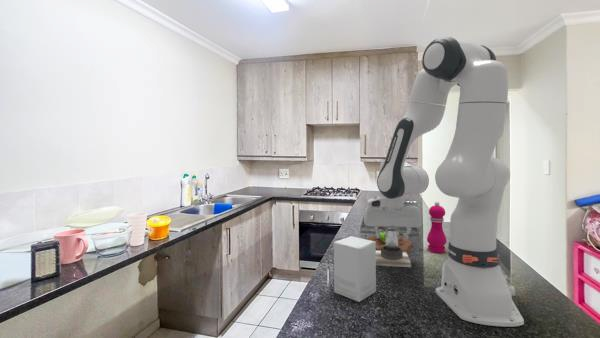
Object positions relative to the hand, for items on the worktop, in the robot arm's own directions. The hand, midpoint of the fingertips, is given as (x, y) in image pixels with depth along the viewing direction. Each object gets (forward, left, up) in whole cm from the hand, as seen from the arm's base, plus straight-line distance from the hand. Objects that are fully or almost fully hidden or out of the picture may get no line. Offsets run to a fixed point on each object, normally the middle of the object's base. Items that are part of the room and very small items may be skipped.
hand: (392, 238), depth 112 cm
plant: (+16, 0, -9) cm, 19 cm away
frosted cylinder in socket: (0, 0, -7) cm, 7 cm away
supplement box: (-28, +13, -9) cm, 32 cm away
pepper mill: (+14, -19, -9) cm, 25 cm away
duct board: (0, 0, -8) cm, 8 cm away
